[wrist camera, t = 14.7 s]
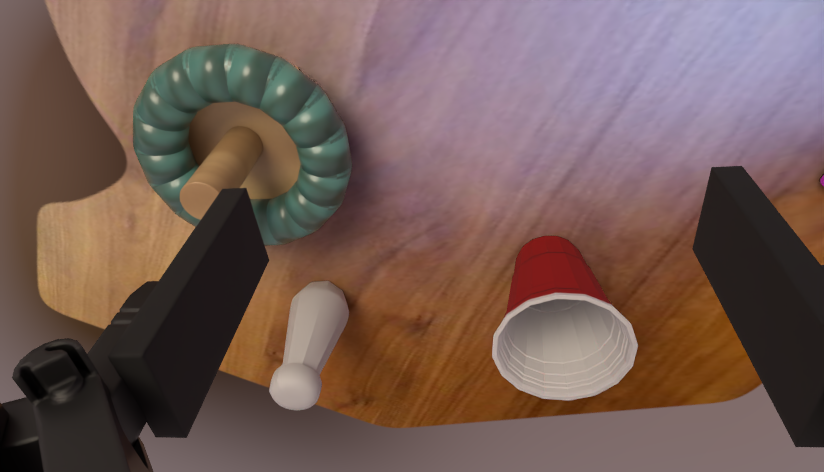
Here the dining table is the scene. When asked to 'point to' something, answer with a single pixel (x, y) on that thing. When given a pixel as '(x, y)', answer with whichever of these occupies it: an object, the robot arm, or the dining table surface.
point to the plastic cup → (561, 326)
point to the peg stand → (238, 155)
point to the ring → (260, 88)
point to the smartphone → (822, 180)
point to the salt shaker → (309, 344)
